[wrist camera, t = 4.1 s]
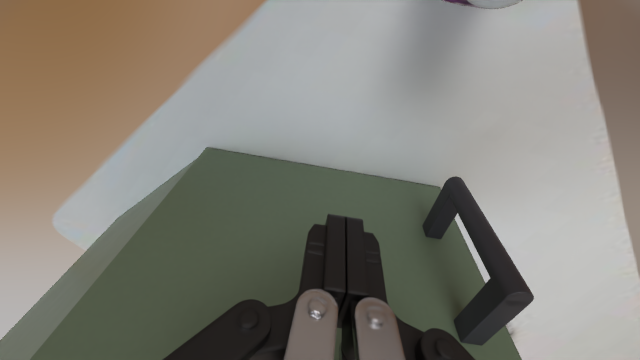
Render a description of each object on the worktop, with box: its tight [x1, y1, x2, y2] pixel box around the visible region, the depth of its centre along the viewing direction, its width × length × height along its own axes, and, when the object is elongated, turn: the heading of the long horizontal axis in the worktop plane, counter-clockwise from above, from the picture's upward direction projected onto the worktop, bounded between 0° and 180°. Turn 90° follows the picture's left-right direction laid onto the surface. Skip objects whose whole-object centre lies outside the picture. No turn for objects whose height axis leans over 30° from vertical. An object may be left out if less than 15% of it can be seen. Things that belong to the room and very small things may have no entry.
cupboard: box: [0, 160, 196, 360], centre depth 30 cm, size 18×26×24 cm
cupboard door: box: [30, 148, 534, 360], centre depth 19 cm, size 7×26×24 cm, turn 81°
